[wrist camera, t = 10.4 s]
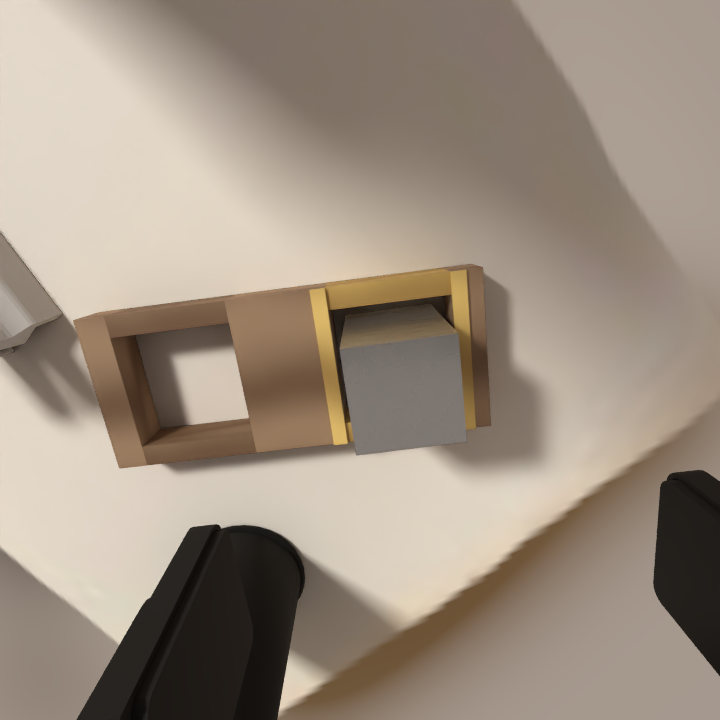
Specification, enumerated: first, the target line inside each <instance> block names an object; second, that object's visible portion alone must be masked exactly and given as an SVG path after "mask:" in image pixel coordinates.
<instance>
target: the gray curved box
mask: <svg viewBox="0 0 720 720" xmlns="http://www.w3.org/2000/svg"><path fill="white" fill-rule="evenodd" d="M61 314H62V312H61V311H60V310H59V309H58V307H57V306H56V305H55V303H54V302H53V301H52V300H51V298H50V297H49V296H48V294H47V293H46V292H45V290H44V289H43V288H42V287H41V285H40V284H39V283H38V281H37V280H36V279H35V277H34V276H33V275H32V274H31V272H30V271H29V270H28V268H27V267H26V266H25V264H24V263H23V262H22V261H21V259H20V258H19V257H18V255H17V254H16V253H15V251H14V250H13V249H12V248H11V246H10V245H9V244H8V242H7V241H6V240H5V238H4V237H3V236H2V235H1V233H0V356H3V355H6V354H9V353H12V352H15V351H14V350H13V349H12V347H14V346H17V345H21V344H25V343H26V341H27V340H28V338H29V337H30V335H31V334H32V332H33V330H34V329H35V327H37V326H40V325H42V324H45V323H47V322H50V321H53V320H55V319H57V318H58V317H59V316H60V315H61Z"/></svg>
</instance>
